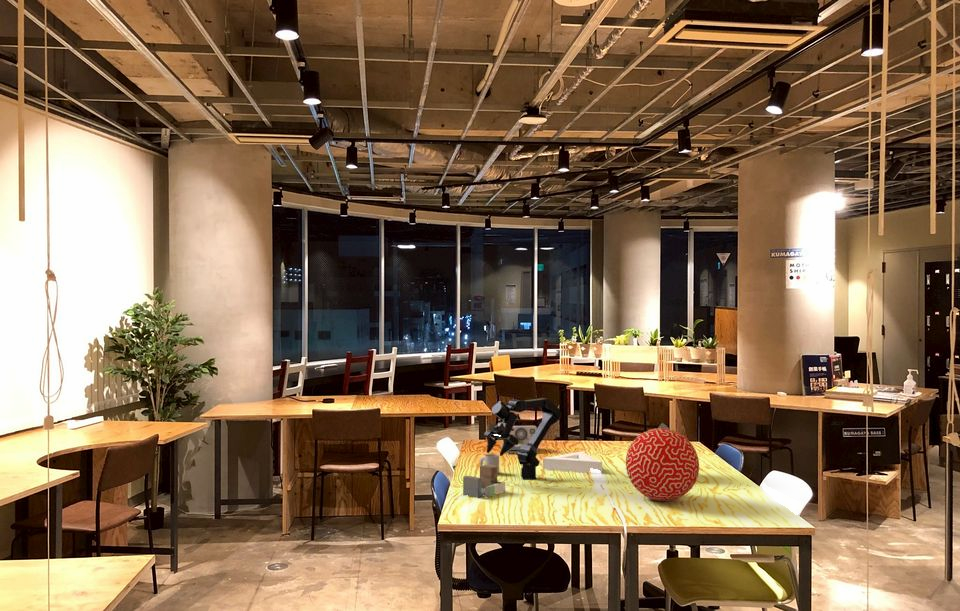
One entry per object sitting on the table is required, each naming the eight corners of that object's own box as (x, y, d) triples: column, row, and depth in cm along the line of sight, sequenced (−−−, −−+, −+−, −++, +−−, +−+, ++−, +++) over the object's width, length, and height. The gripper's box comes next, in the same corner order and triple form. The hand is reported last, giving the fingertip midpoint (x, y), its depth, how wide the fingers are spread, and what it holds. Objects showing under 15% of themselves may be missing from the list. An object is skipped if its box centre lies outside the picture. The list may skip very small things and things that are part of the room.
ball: (620, 491, 317) (620, 423, 317) (688, 491, 316) (688, 423, 316) (632, 508, 287) (632, 433, 287) (708, 509, 286) (707, 434, 286)
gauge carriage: (486, 484, 321) (486, 464, 321) (506, 488, 314) (506, 467, 314) (479, 486, 317) (479, 466, 317) (499, 490, 310) (499, 469, 310)
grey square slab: (466, 493, 311) (466, 475, 311) (481, 496, 306) (481, 478, 306) (463, 495, 309) (463, 476, 309) (477, 497, 304) (477, 479, 304)
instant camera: (501, 454, 405) (501, 428, 405) (501, 448, 425) (501, 422, 426) (538, 454, 404) (538, 428, 404) (537, 448, 425) (537, 423, 425)
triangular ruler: (542, 470, 362) (542, 458, 363) (554, 461, 387) (554, 449, 387) (602, 475, 353) (602, 462, 353) (609, 465, 377) (609, 453, 378)
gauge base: (486, 487, 323) (486, 478, 323) (506, 491, 316) (506, 481, 316) (466, 493, 311) (466, 483, 311) (486, 497, 304) (486, 487, 304)
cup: (497, 475, 349) (497, 457, 349) (477, 474, 351) (477, 456, 352) (500, 472, 356) (500, 454, 356) (481, 471, 358) (481, 453, 359)
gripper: (483, 413, 338) (469, 443, 332) (510, 417, 323) (495, 449, 318) (498, 424, 343) (485, 454, 338) (525, 429, 329) (511, 460, 323)
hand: (493, 454), depth 329 cm, fingers open, 9 cm apart
